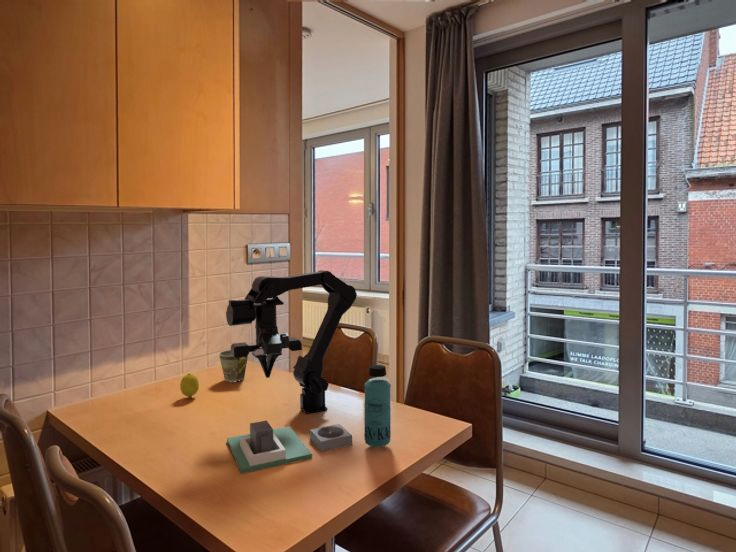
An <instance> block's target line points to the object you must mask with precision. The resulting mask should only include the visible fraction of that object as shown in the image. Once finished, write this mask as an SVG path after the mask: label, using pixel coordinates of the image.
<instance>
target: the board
mask: <svg viewBox="0 0 736 552" xmlns="http://www.w3.org/2000/svg"><path fill="white" fill-rule="evenodd" d="M226 441H227V445H228V444H229V445H228V447H229V446H230V447H229V450H230V451H231V453H233V454H232V456H233V458H234V461H235V463H236V462H237V463H236V464H237V465H236V466H237V467H238V469H239V471H240V474H241V473H242V474H246V472H247V473H250V472H256V471H260V470H264V469H268V468H273V467H279V466H282V465H283V466H284V465H287V464H292V463H296V462H300V461H305V460H311V459H313V453H312V452H311V451H310V449H309V448H308V447H307V445H305V443H304V442H303V441H302V440H301V438H300V437H299V436H298V435H297V434H296V432H295V431H294V430H293V429H292V428H291V426H283V427H280V428H274V429H273V444H274V450H273V451H268V452H263V453H258V454H254V453H253V451H252V450H251V443H250V433H247V434H241V435H236V436H231V437H226Z"/></svg>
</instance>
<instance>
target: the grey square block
mask: <svg viewBox="0 0 736 552" xmlns="http://www.w3.org/2000/svg"><path fill="white" fill-rule="evenodd" d="M309 437H310V438H309V439H310V441H311V442H312V443H313V444H314V445H315V446H316V448H317V449H318V450H319V451H320V452H322V453H323V452H326V451H332V450H335V449H341V448H345V447H350V446H353V435H352V433H350V432H349V431H348V430H347V429H346V428H344V426H342V424H340V423H337V424H332V425H327V426H322V427H316V428H312V429H311V428H310V429H309Z"/></svg>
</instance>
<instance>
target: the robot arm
mask: <svg viewBox="0 0 736 552" xmlns="http://www.w3.org/2000/svg"><path fill="white" fill-rule="evenodd" d="M315 286H321V287H322V288H323V290H325V292H327V293H328V297H327V310H326V312H325V314H324V317H323V319H322V321H321V323H320V326H319V328H318V330H317V332H316V335H315V336H314V339H313V341H312V343H311V346H310V348H309V350H308V351H307V353H306V354H305V355H303V356H301V355H299V356H298V357H297V360H296V362H295V365H294V366H293V367H292V368H293V377H294V380H295V381H297V382H298V384H299V387H302V388H301V393H300V395H299V396H300V397H299V400H300V402H299V403H300V404H299V405H300V408H301V409H302V410H303V411H304V412H305V413H306V414H311V413H312V414H313V413H317V412H318V413H319V412H323V411H324V412H325V411H327V410H328V407H327V406H326V391H328V388H329V382H327V380H326V379H325V378H323V377H322V375H323V372H324V357H325V355H326V353H327V350H328V349H329V347H330V344H331V342H332V340H333V337H334V335H335V333H336V331H337V329H338V326H339V324H340V321H341V320H342V317H343V315H344V314H346V312H348V311H349V310H350V309H351V307H352V306H353V304H354V303H355V301H356V300H357V297H358V296H357V295H358V293H357V291H356V288H355V287H354V286H353V285H349V284H347V283H346V282H344V281H343V280H341V279H340V278H339V277H337V276H335V275H334V274H333V273H332V272H331V271H329V270H325V269H323V270H322V269H321V270H318V271H314V272H313V271H312V272H308V273H307V272H306V273H300V274H293V275H288V276H271V275H270V276H267V275H262V276H261V275H260V276H257V277H255V278H254V279H253V281H252V284H251V288H250V290H249V291H248V293H247V294H246V296H245V297H244V299H237V300H235V299H229V300H228V305H227V307H226V311H225V318H226V323H227V325H228V326H229V327H232V326H235V327H236V326H243V325H251V324H252V323H253V322H254V321H255V326H254V328H255V344H250V345H249V344H247V343H246V341H245V342H243V341H242V342H235V343H232V344H231V345H230V350H231V354H232V355H233V357H235V358H238V357H246V356H247V355H248V356H249V354H250V353H251V355H252V356H253V357H254V358H255V359H257V360H258V362H259V363H260V366H261V369H262V371H263V374H264V377H265V378H266V379H268V378H270V376H271V374H272V371H273V368H274V364H275V362H276V361H277V359H278V357H279V356H282V355H283V353H282V352H283V349H289V350H290V352H296V351H297V352H298V351H302V350H303V344H302V341H301V340H300V339H299V338H297V337H290V335H289V333H287V332H285V333H279V328H278V324H277V323H278V322H277V319H278V318H277V306H283V305H284V301H283V300H281V299H280V298H279V296H281V295H283V294H285V293H287V292H290V291H294V290H299V289H304V288H309V287H315Z"/></svg>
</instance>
